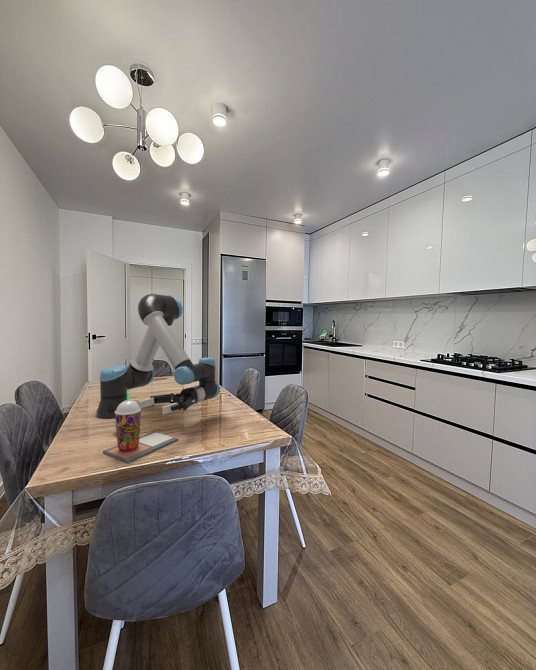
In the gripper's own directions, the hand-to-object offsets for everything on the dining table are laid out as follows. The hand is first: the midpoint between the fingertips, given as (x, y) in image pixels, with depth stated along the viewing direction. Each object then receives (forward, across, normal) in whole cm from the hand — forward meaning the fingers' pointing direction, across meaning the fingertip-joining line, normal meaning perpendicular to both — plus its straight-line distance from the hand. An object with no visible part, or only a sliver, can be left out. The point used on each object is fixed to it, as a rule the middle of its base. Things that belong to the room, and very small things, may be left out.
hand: (150, 407), depth 107 cm
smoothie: (+9, 0, -13) cm, 15 cm away
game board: (+4, 0, -14) cm, 14 cm away
